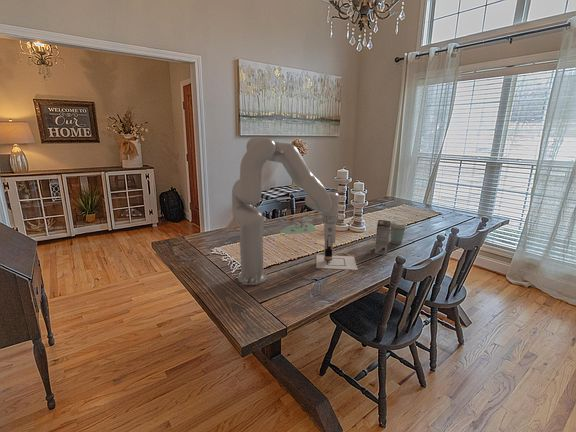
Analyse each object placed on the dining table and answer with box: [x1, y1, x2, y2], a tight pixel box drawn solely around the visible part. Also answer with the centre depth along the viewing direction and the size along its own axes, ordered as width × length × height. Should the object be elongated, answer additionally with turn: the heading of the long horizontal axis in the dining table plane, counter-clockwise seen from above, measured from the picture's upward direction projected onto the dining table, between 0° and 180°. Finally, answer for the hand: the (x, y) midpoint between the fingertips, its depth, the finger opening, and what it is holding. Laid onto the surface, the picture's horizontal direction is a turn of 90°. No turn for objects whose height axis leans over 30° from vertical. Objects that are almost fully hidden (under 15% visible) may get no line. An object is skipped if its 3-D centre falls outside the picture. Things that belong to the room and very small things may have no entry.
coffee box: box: [374, 219, 392, 256], centre depth 160 cm, size 9×6×16 cm
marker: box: [323, 241, 334, 261], centre depth 147 cm, size 4×4×12 cm
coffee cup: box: [390, 220, 407, 246], centre depth 173 cm, size 9×8×12 cm
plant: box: [279, 215, 317, 235], centre depth 197 cm, size 25×21×9 cm
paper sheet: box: [315, 254, 359, 271], centre depth 149 cm, size 15×19×1 cm
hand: (328, 254), depth 148 cm, fingers closed on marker, 4 cm apart
